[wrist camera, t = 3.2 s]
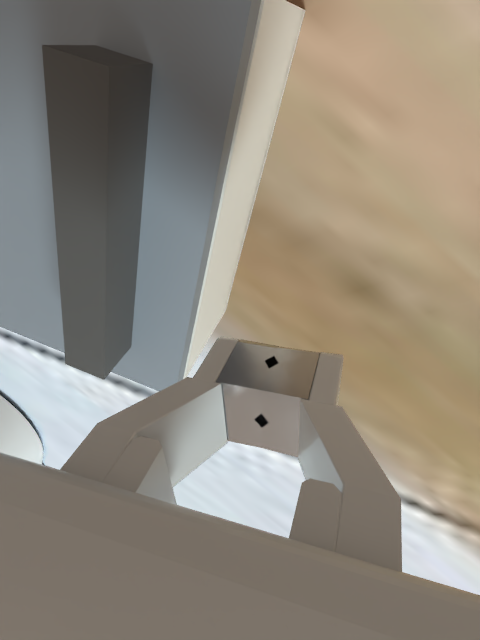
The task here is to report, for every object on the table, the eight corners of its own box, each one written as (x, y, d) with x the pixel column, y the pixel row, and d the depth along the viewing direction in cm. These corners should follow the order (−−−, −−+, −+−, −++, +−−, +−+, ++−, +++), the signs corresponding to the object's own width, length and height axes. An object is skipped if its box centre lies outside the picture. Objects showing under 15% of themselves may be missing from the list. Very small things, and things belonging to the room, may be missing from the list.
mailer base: (305, 10, 14) (266, -10, 9) (225, 310, 22) (184, 380, 18) (-162, -130, 16) (-396, -205, 11) (-70, 198, 24) (-178, 234, 20)
